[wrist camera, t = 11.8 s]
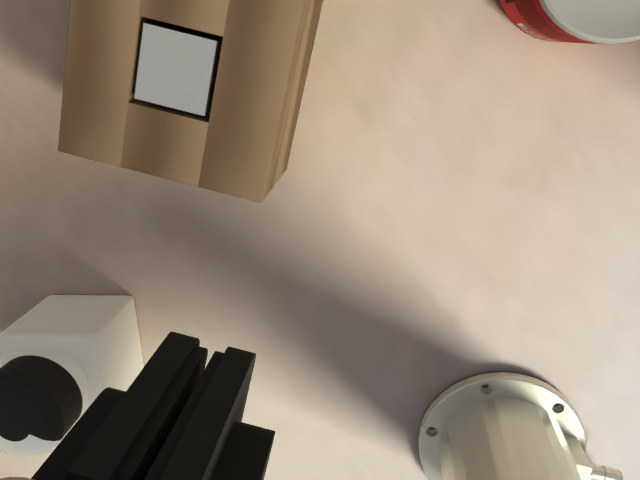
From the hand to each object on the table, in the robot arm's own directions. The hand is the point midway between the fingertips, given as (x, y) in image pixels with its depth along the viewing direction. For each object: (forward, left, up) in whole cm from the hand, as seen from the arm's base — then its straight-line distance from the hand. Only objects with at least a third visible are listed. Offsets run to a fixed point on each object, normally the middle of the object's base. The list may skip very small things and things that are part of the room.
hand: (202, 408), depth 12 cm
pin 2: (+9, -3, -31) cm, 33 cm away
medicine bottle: (+15, +20, -32) cm, 41 cm away
